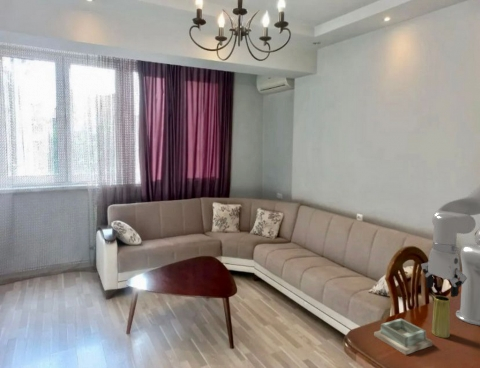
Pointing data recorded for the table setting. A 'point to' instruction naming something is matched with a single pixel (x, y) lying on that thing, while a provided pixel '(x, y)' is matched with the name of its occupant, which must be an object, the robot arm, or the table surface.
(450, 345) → the table surface
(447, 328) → the vase
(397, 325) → the vase stand
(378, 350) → the table surface
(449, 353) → the table surface
